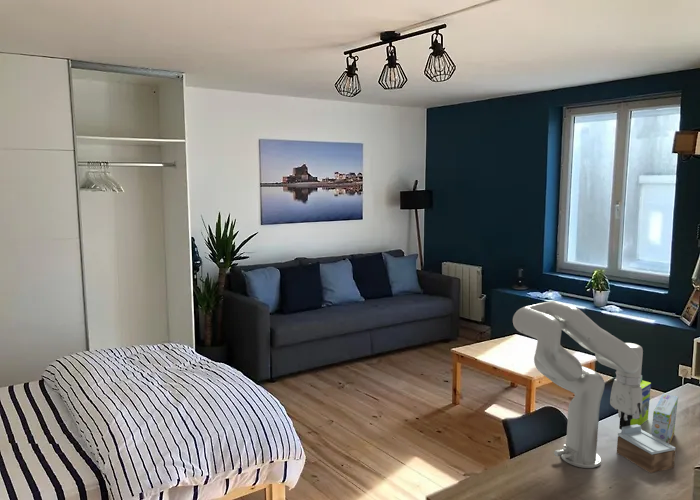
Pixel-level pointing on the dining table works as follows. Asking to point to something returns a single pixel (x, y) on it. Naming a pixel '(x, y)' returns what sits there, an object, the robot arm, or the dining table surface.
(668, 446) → the lid
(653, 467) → the keepsake box
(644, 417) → the box
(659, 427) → the snack box
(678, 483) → the dining table surface
